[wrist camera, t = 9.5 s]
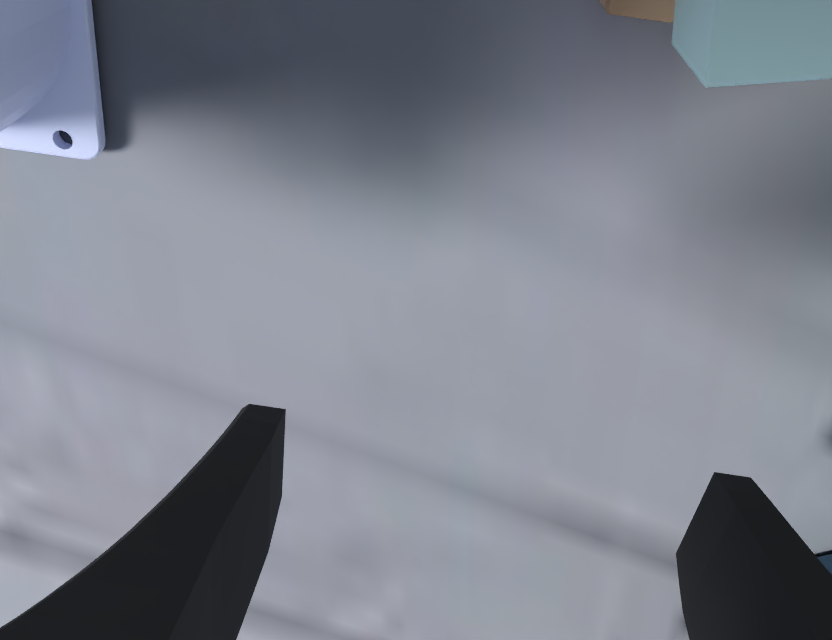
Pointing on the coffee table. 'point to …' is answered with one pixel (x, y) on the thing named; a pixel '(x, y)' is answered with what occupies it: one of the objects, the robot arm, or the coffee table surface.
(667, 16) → the tower base
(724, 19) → the tower top
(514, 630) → the coffee table surface
